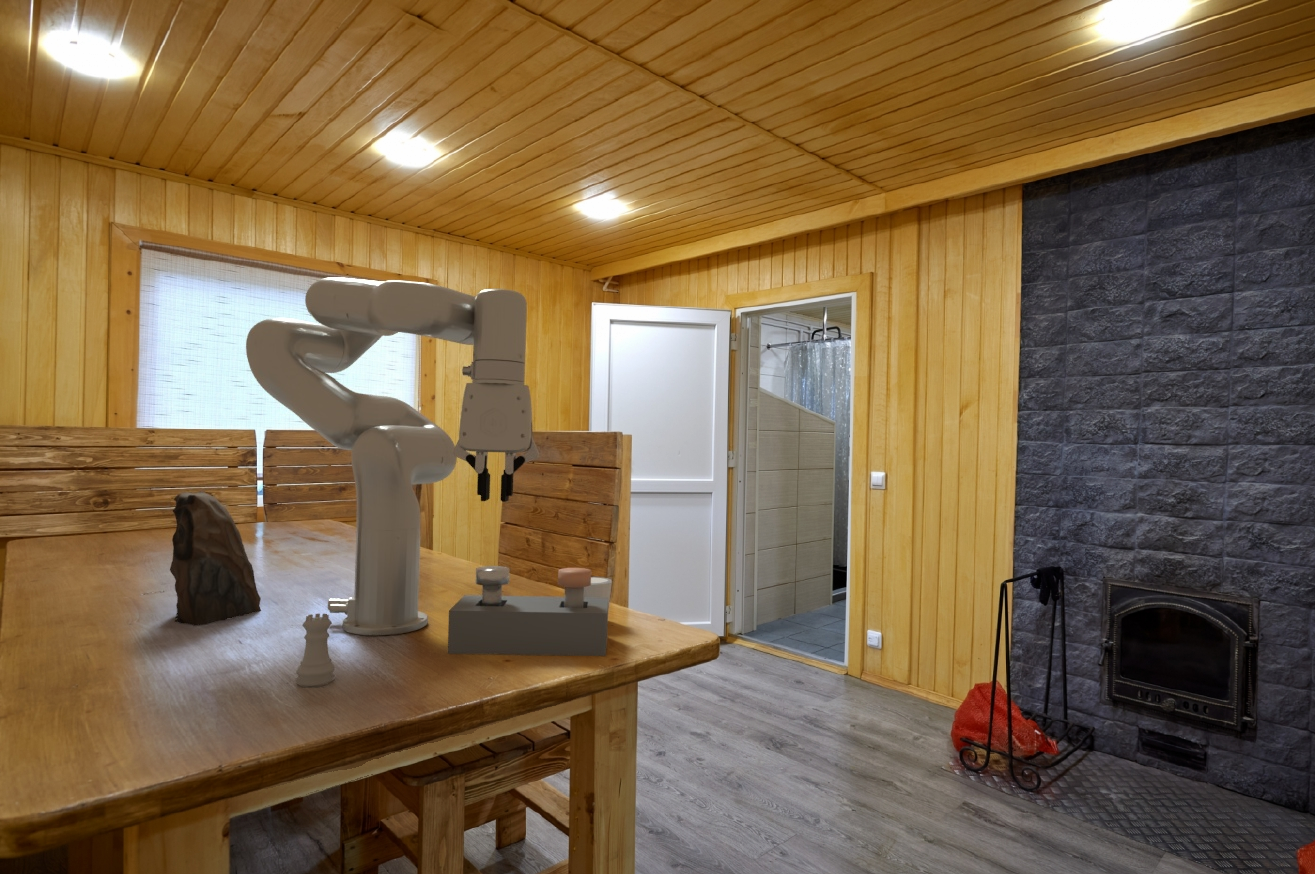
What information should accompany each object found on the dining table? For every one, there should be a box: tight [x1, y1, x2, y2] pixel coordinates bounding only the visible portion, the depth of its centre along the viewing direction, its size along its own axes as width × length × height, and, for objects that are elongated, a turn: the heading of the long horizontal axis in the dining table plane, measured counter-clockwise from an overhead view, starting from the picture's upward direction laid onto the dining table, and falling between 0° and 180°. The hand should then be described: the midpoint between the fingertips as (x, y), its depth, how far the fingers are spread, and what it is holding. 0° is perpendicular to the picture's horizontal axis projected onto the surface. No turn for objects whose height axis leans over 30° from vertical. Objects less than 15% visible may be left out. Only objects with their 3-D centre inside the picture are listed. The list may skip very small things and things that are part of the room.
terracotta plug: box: [557, 567, 592, 608], centre depth 105 cm, size 5×5×8 cm
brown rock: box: [169, 490, 262, 627], centre depth 116 cm, size 13×13×20 cm
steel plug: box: [475, 565, 510, 606], centre depth 105 cm, size 5×5×8 cm
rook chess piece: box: [294, 613, 336, 688], centre depth 87 cm, size 4×4×8 cm
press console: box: [447, 594, 609, 657], centre depth 105 cm, size 22×10×6 cm, turn 93°
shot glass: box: [584, 576, 613, 612], centre depth 120 cm, size 7×7×7 cm
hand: (494, 499), depth 105 cm, fingers closed
